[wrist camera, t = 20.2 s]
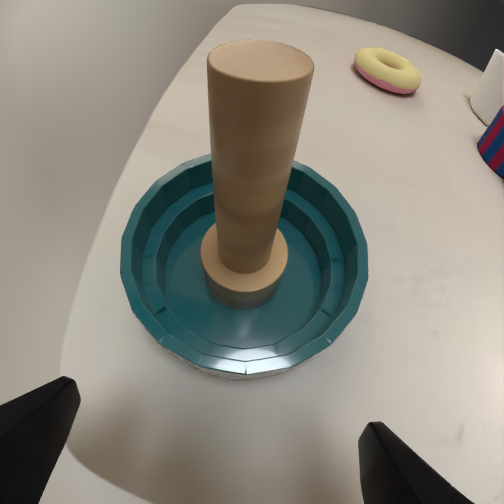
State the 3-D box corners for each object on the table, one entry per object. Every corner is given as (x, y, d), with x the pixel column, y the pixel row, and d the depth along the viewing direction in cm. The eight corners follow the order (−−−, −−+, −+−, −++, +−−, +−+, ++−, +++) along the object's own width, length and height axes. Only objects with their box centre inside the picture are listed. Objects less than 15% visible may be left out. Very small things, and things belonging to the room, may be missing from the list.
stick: (294, 268, 18) (374, 67, 6) (249, 325, 16) (290, 134, 5) (236, 228, 19) (246, 20, 7) (189, 278, 17) (132, 67, 6)
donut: (413, 96, 35) (363, 59, 36) (429, 74, 31) (376, 37, 32) (401, 109, 30) (339, 65, 31) (420, 82, 26) (354, 37, 27)
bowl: (332, 390, 15) (364, 386, 11) (122, 353, 15) (89, 338, 11) (340, 212, 21) (361, 170, 17) (174, 186, 21) (164, 140, 17)
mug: (477, 123, 31) (511, 66, 20) (457, 86, 36) (481, 37, 26) (517, 148, 30) (551, 99, 20) (495, 108, 36) (520, 64, 25)
